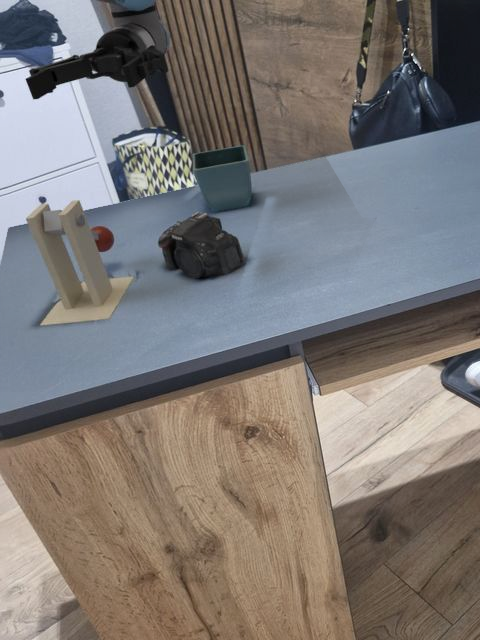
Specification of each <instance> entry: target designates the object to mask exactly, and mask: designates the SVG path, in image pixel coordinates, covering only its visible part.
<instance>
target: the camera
mask: <svg viewBox="0 0 480 640" xmlns="http://www.w3.org/2000/svg"><path fill="white" fill-rule="evenodd" d="M157 245H158V248H160V249H161V251H162V257H163V259H164V262H165V265H166V267H167V269H168V270H171V271H174V270H177V269H180V271H182V273H183V274H184V275H186V276H187V277H189V278H190V279H191V278H192V279H195V280H199V279H201V278H210V277H213V276H224V275H229V274H231V273H233V272H234V271H236V270H238V269H239V268H241V267H243V266H244V265H245V264H246V263H245V257H244V254H243V251H242V248H241V244H240V241H239V238H238V237H237V236H235V235H233V234H232V233H229V232H228V231H226V230H224V229H223V224H222V222H221V218H219V217H215V216H211V215H209V214H208V213H207V212H205V213H201V211H197V212H195V213H193V214H192V215H191V216H189V217H188V218H186V219H183V220H178V221H176V223H175V224H173V225H171V226H169V227H168V228H167V229H165V230H163V233H161V235H160V236H159V238H158V241H157Z"/></svg>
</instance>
